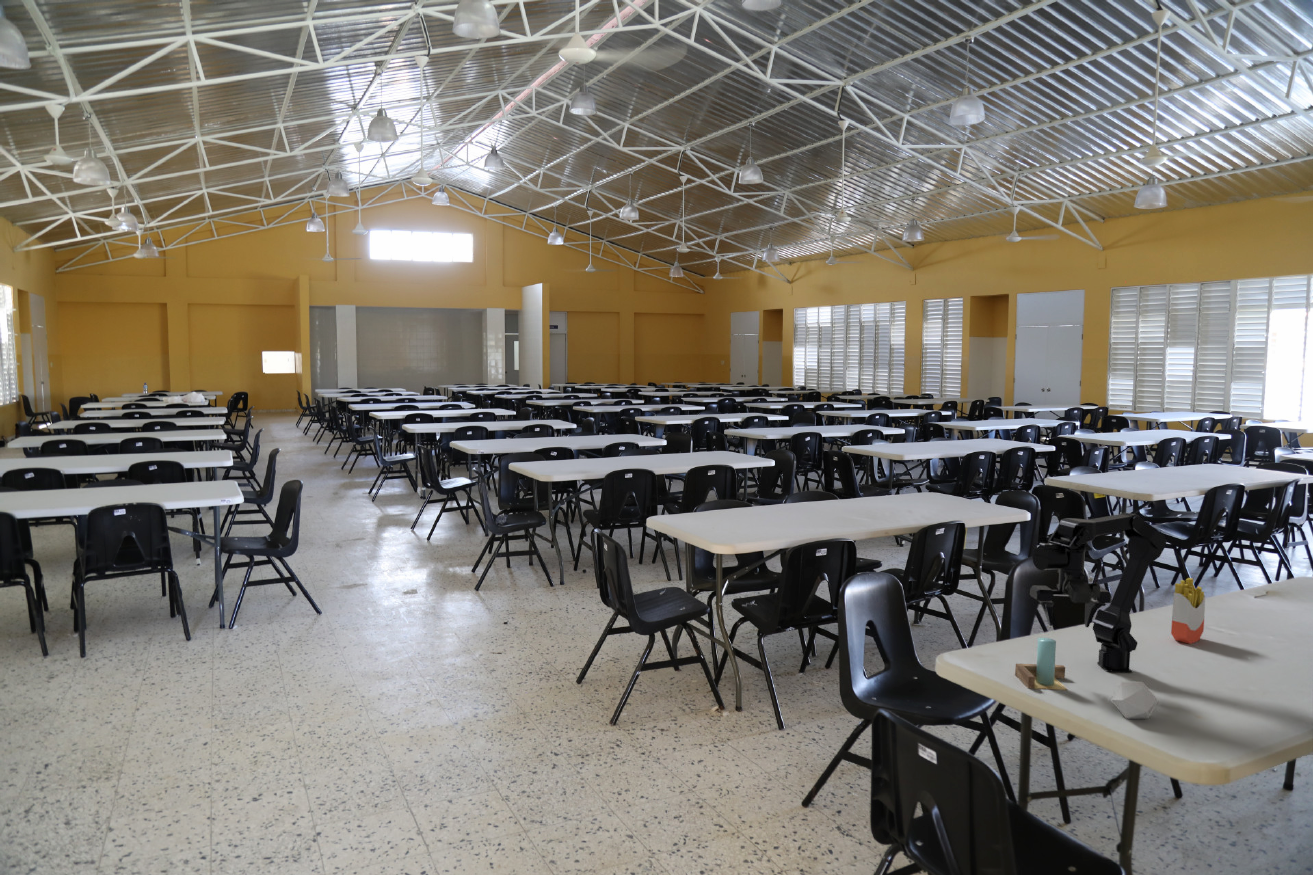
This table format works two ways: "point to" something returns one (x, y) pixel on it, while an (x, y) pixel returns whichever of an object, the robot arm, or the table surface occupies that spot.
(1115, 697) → the die
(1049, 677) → the cylindrical block
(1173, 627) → the french fries container
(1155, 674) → the table surface
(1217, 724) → the table surface
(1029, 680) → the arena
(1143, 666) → the table surface
